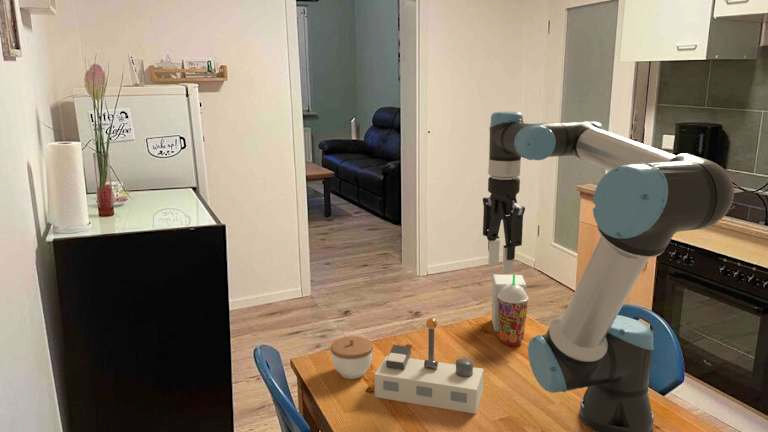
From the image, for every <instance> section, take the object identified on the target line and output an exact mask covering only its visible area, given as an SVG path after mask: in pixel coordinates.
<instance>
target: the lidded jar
mask: <svg viewBox="0 0 768 432" xmlns="http://www.w3.org/2000/svg"><path fill="white" fill-rule="evenodd" d="M373 349H374V344H373V342H372V341H371V340H370V339H369V338H366V337H362V336H358V335H357V336H356V335H352V336H344V337H340V338H337V339H336V340H334V341H332V343H331V345H330V352H331V353H330V354H331V360H332V361H331V362H332V364H333V367H334V369H335V370H336V372H337V373H338V374H340V375H341V377H342V378H344V379H348V380H350V379H351V380H355V379H359V378H362V377H363V376H364V375H365V373H366V372H367V371H368V370H369V369H370V367H371V365H372V361H373V352H374V351H373Z"/></svg>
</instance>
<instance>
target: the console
mask: <svg viewBox="0 0 768 432" xmlns="http://www.w3.org/2000/svg"><path fill="white" fill-rule="evenodd" d="M388 356H389V354H387V355H386V357H385V358H384V360H383V361H382V363H381V364H380V366H379V367H378V369H376V371H375V373H374V397H375V398H377V399H378V398H379V399H385V400H391V401H394V402H395V401H397V402H402V403H409V404H415V405H418V406H419V405H421V406H427V407H432V408H437V409H445V410H450V411H456V412H462V413H467V414H474V415H475V414H476V415H477V412H478V408H479V406H480V402H481V399H482V395H483V392H484V368H480V367H476V366H473V375H472V376H470V377H460V376H458V375H456V364H453V363H447V362H439V361H437V362H438V368H437V369H431V368H425V367H424V362H425V360H426V359H420V358H419V359H417V358H410V357H409V360H408V362H407V364H406V367H405V369H404V370H402V369H395V368H389V367H386V360H387V358H388Z"/></svg>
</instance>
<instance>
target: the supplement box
mask: <svg viewBox="0 0 768 432" xmlns="http://www.w3.org/2000/svg"><path fill="white" fill-rule="evenodd" d="M492 275H493V276H492V277H493V278H492V300H491V302H492V304H491V306H492V307H491V322H492V326H493V332H499V315H498V294H499V293H500V291H501V289H502V288H503V287H504V286H506V285H508V284H512V282H513V275H515V284H517V285H520V286H521V287H522V288H523V289H524V290H525V292H526V293H527V283H526V281H525V279H524V276H523V275H522V274H497V273H496V274H492Z"/></svg>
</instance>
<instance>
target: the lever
mask: <svg viewBox="0 0 768 432" xmlns="http://www.w3.org/2000/svg"><path fill="white" fill-rule="evenodd" d="M437 321H438V320H436V319H435V318H434V317H430V318H427V320H426V323H425V326H426V328H427V329H428V351H427V352H428V353H427V354H428V355H427V356H428V357H427V358H428V359H424V360H425V362H424V367H425V368H431V369H437V368H438V362H439V361H436V360H435V329H436V328H437V326H438V322H437Z"/></svg>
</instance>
